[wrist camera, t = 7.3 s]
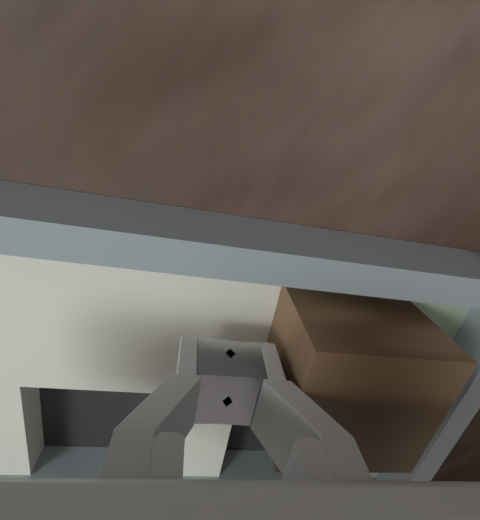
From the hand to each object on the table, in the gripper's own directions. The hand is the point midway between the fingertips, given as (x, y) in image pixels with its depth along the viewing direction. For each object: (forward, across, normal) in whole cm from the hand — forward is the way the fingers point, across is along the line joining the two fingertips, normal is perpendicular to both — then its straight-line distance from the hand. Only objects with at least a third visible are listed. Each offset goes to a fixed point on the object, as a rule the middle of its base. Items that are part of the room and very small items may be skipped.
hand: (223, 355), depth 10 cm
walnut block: (+1, +4, 0) cm, 4 cm away
